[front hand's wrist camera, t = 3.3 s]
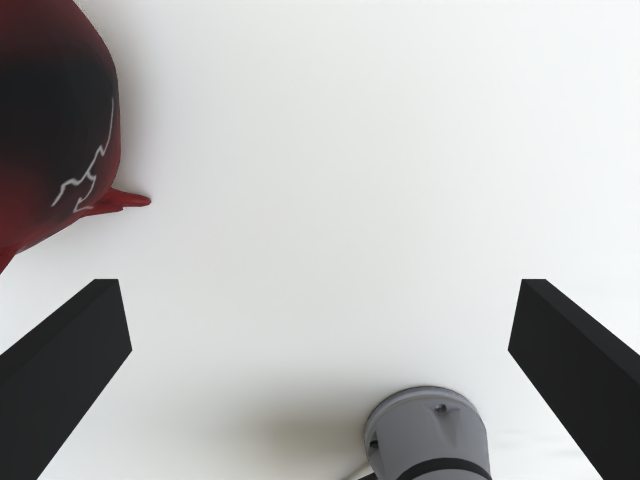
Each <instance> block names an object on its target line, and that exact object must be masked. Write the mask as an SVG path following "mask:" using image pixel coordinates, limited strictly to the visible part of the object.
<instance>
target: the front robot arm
mask: <svg viewBox="0 0 640 480" xmlns="http://www.w3.org/2000/svg"><path fill="white" fill-rule="evenodd" d="M131 351H132V346H131V341H130V336H129V331H128V326H127V321H126V316H125V311H124V306H123V301H122V296H121V291H120V286H119V281H118V279H94V280H93V281H92V282H90V283H89V284H88V285H87V286H85V287H84V288H83V289H82V290H80V291H79V292H78V293H77V294H76V295H74V296H73V297H72V298H71V299H69V300H68V301H67V302H66V303H64V304H63V305H62V306H61V307H59V308H58V309H57V310H56V311H55V312H53V313H52V314H51V315H50V316H48V317H47V318H46V319H45V320H43V321H42V322H41V323H40V324H38V325H37V326H36V327H35V328H34V329H32V330H31V331H30V332H29V333H27V334H26V335H25V336H24V337H22V338H21V339H20V340H19V341H17V342H16V343H15V344H14V345H13V346H11V347H10V348H9V349H8V350H6V351H5V352H4V353H3V354H1V355H0V480H37V478H38V477H39V476H40V474H41V473H42V472H43V470H44V469H45V468H46V466H47V465H48V464H49V462H50V461H51V460H52V458H53V457H54V456H55V454H56V453H57V451H58V450H59V449H60V447H61V446H62V445H63V443H64V442H65V441H66V439H67V438H68V437H69V435H70V434H71V433H72V431H73V430H74V428H75V427H76V426H77V424H78V423H79V422H80V420H81V419H82V418H83V416H84V415H85V414H86V412H87V411H88V410H89V408H90V407H91V405H92V404H93V403H94V401H95V400H96V399H97V397H98V396H99V395H100V393H101V392H102V391H103V389H104V388H105V387H106V385H107V384H108V383H109V381H110V380H111V378H112V377H113V376H114V374H115V373H116V372H117V370H118V369H119V368H120V366H121V365H122V364H123V362H124V361H125V360H126V358H127V357H128V355H129V354H130V353H131ZM508 351H509V353H510V354H511V355H512V357H513V358H514V360H515V361H516V362H517V364H518V365H519V366H520V368H521V369H522V370H523V372H524V373H525V374H526V376H527V377H528V378H529V380H530V381H531V383H532V384H533V385H534V387H535V388H536V389H537V391H538V392H539V393H540V395H541V396H542V397H543V399H544V400H545V401H546V403H547V404H548V405H549V407H550V408H551V410H552V411H553V412H554V414H555V415H556V416H557V418H558V419H559V420H560V422H561V423H562V424H563V426H564V427H565V428H566V430H567V431H568V433H569V434H570V435H571V437H572V438H573V439H574V441H575V442H576V443H577V445H578V446H579V447H580V449H581V450H582V451H583V453H584V454H585V456H586V457H587V458H588V460H589V461H590V462H591V464H592V465H593V466H594V468H595V469H596V470H597V472H598V473H599V474H600V476H601V477H602V478H603V480H640V355H639V354H637V353H636V352H635V351H634V350H632V349H631V348H630V347H629V346H627V345H626V344H625V343H624V342H623V341H621V340H620V339H619V338H618V337H616V336H615V335H614V334H613V333H611V332H610V331H609V330H608V329H606V328H605V327H604V326H603V325H602V324H600V323H599V322H598V321H597V320H595V319H594V318H593V317H592V316H590V315H589V314H588V313H587V312H585V311H584V310H583V309H582V308H581V307H579V306H578V305H577V304H576V303H574V302H573V301H572V300H571V299H569V298H568V297H567V296H566V295H564V294H563V293H562V292H561V291H560V290H558V289H557V288H556V287H555V286H553V285H552V284H551V283H550V282H548V281H547V280H546V279H522V281H521V286H520V291H519V296H518V301H517V306H516V311H515V316H514V321H513V326H512V331H511V336H510V341H509V346H508ZM364 440H365V448H366V454H367V458H368V460H369V462H370V464H371V466H372V468H373V470H374V473H372V474H369V475H367V476H365V477H363V478H361V479H358V480H492V478H491V475H490V464H489V454H488V444H487V433H486V429H485V426H484V424H483V422H482V420H481V418H480V416H479V414H478V412H477V410H476V408H475V407H474V406H473V405H472V403H471V402H469V401H468V400H467V399H466V398H465V397H463V396H461V395H460V394H458V393H456V392H453V391H450V390H447V389H443V388H437V387H419V388H413V389H409V390H405V391H402V392H400V393H397V394H395V395H393V396H391V397H389V398H388V399H386V400H385V401H383V402H382V403H381V404H380V405H379V406H378V407H377V408H376V409H375V410H374V411H373V412H372V414H371V415H370V417H369V419H368V421H367V423H366V427H365V431H364Z"/></svg>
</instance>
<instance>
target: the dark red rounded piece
mask: <svg viewBox="0 0 640 480" xmlns="http://www.w3.org/2000/svg"><path fill="white" fill-rule="evenodd" d="M120 153H121V142H120V111H119V94H118V81H117V74H116V69H115V65H114V63H113V60H112V58H111V55H110V53H109V50H108V48H107V47H106V45H105V43H104V42H103V40H102V38H101V37H100V35H99V34H98V32H97V31H96V30H95V28H94V27H93V25H92V24H91V23H90V21H89V20H88V19H87V17H86V16H85V15H84V14H83V12H82V11H81V10H80V9H79V7H78V6H77V5H76V4H75V3H74V1H73V0H0V274H1V273H2V272H3V270H4V269H5V268H6V266H7V265H8V264H9V262H10V261H11V260H12V258H13V257H14V256H15V255H16V254H18V253H20V252H22V251H24V250H26V249H28V248H30V247H32V246H34V245H36V244H38V243H40V242H41V241H43V240H45V239H47V238H48V237H50V236H52V235H54V234H55V233H57V232H59V231H60V230H62V229H64V228H66V227H67V226H69V225H71V224H72V223H74V222H75V221H77V220H78V219H79V218H82V217H85V216H90V215H97V214H104V213H112V212H118V211H121V210H123V207H142V206H146V205H149V204H150V203H151V201H150V199H149V198H147V197H144V196H140V195H136V194H131V193H126V192H122V191H119V190H116V189H113V188H111V184H112V182H113V180H114V178H115V176H116V173H117V170H118V166H119V163H120Z"/></svg>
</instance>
